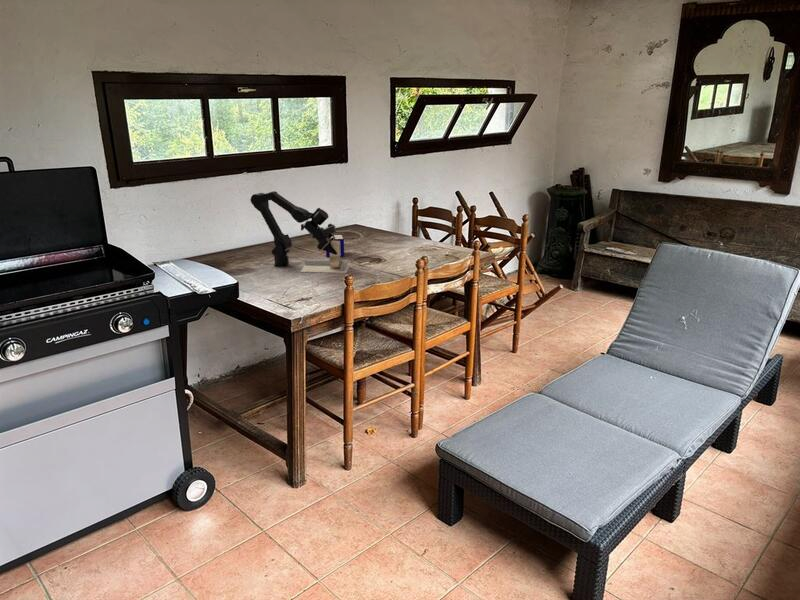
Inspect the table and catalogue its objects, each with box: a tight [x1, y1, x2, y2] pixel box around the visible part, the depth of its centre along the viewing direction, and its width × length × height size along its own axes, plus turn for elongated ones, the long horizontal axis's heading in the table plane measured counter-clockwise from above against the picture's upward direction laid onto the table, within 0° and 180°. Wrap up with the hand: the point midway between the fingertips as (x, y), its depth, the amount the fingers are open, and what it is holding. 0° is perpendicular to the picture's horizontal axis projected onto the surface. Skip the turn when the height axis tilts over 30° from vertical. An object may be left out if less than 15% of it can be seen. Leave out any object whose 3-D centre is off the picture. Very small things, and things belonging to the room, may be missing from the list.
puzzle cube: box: [324, 234, 345, 258], centre depth 333 cm, size 10×10×10 cm
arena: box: [299, 258, 351, 274], centre depth 306 cm, size 23×14×3 cm, turn 87°
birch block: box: [329, 241, 342, 267], centre depth 304 cm, size 6×4×12 cm
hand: (337, 252), depth 304 cm, fingers closed on birch block, 6 cm apart
